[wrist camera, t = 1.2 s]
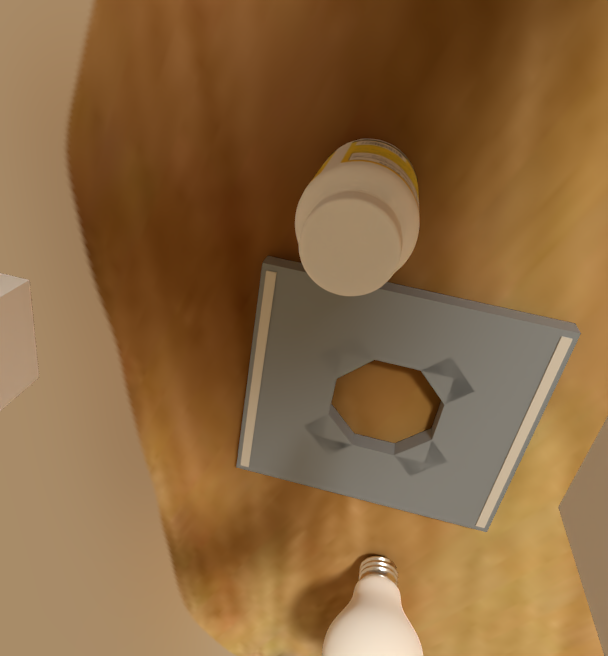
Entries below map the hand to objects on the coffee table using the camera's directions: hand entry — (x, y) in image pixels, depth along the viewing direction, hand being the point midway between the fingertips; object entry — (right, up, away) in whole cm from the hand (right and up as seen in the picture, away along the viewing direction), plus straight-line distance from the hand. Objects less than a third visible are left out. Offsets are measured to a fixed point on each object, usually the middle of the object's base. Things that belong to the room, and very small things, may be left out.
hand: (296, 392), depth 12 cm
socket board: (+5, -3, +23) cm, 24 cm away
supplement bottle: (+4, +9, +17) cm, 20 cm away
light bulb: (+6, -17, +30) cm, 35 cm away
